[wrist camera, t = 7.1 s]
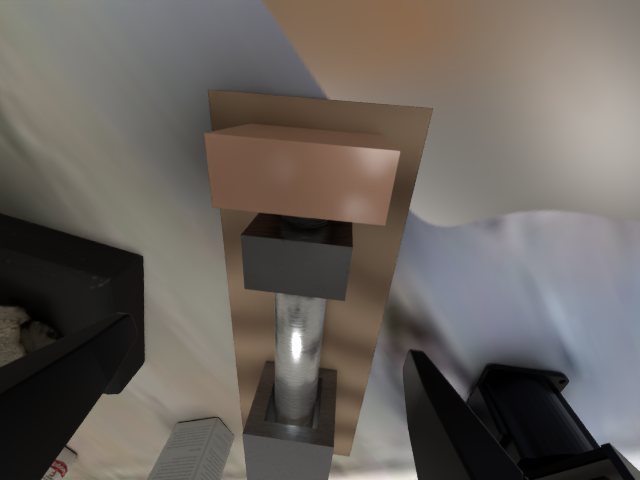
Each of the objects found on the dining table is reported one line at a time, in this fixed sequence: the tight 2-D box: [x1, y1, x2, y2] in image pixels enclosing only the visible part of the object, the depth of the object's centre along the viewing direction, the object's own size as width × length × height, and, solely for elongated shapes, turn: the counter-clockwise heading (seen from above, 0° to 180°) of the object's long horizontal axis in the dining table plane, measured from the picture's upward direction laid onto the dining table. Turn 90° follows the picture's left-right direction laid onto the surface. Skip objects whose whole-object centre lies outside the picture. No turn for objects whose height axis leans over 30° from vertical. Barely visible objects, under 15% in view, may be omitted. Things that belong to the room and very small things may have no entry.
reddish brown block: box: [204, 124, 400, 226], centre depth 13 cm, size 3×7×6 cm, turn 86°
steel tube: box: [241, 212, 353, 428], centre depth 18 cm, size 21×5×5 cm, turn 176°
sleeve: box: [243, 360, 337, 480], centre depth 24 cm, size 12×6×6 cm, turn 176°
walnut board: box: [208, 90, 433, 456], centre depth 23 cm, size 35×12×1 cm, turn 176°
